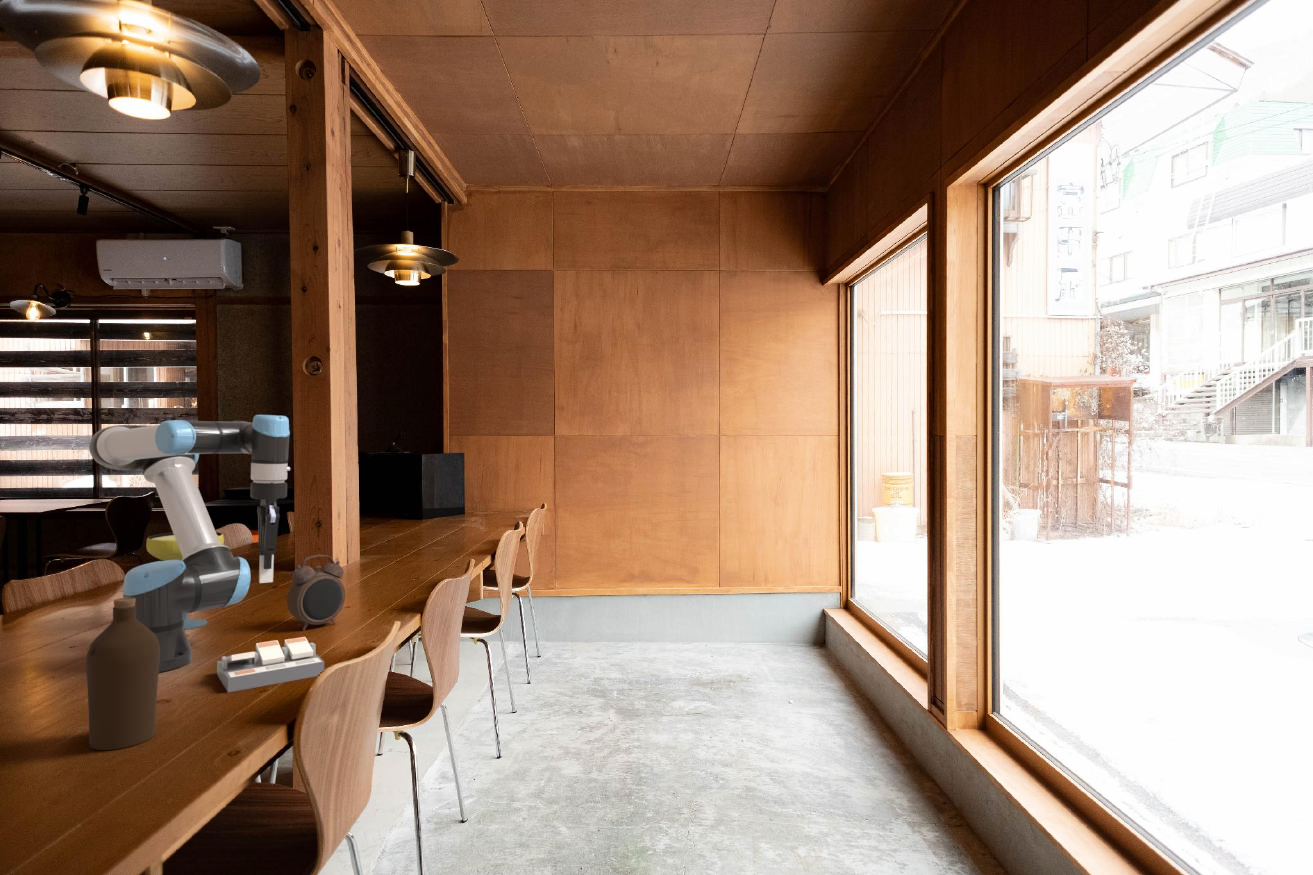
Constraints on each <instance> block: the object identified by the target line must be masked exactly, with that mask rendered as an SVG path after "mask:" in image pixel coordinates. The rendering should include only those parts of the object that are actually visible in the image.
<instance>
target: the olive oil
mask: <svg viewBox="0 0 1313 875" xmlns="http://www.w3.org/2000/svg"><path fill="white" fill-rule="evenodd" d="M135 602H136V598H134V597H124V598H123V597H118V598H115V599H113V605H114V606H113V608H112V621H111V622H110V624H109V625H108V626H107V627H105V629H104V630H102V631H101V632H100V634H98V635H97V637H95V639H94V640H93V641H92V642H91V644H90V645H89V648H88V650H87V653H86V656H85V666H86V682H87V683H86V684H87V705H88V734H89V737H88V739H89V740H88V743H89V747H90V748H91V749H94V750H98V751H112V750H114V751H115V750H120V749H126V748H130V747H132V746H137V745H140V744H142V743H145V742H146V741H148V740H150V739H152V737H154V735H155V734H156V732H155V731H156V716H157V700H158V699H157V697H158V696H157V695H158V685H159V684H158V683H159V673H160V672H159V660H160V645H159V641H158V639H157V637H156V635H155V634H154V633H153V632H152V631H151V630H149V629H148V628H147V627H146V626H144V625H143V624H142V623H140V622H139V621H138V620H137V619H136V605H135Z"/></svg>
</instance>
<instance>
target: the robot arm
mask: <svg viewBox="0 0 1313 875" xmlns="http://www.w3.org/2000/svg"><path fill="white" fill-rule="evenodd" d="M289 423H290V421H289V417H287V416H286V415H275V414H273V415H272V414H256V415H254V416H253V418H252V422H250V421H249V422H248V421H243V420H233V421H223V420H221V421H219V420H218V421H217V420H216V421H215V420H213V421H211V420H209V421H208V420H207V421H206V420H204V421H203V420H184V419H174V420H165V421H162V422H161V423H159V424H154V425H141V424H139V425H137V424H136V425H133V424H119V425H117V424H116V425H111V426H107V427H104V428H101V429H100V430H98V431H97V432H95V433H94V434H93V435H92V436H91V438H90V441H89V445H88V449H89V450H88V451H89V453H90V456H91V457H92V459H94V461H95V462H96V463H97V464H99V465H101V466H103V467H105V468H107V469H112V470H117V471H141V472H142V474H143V477H144V479H145V480H146V481H147V482H149V483H152V484H154V486H155V489H156V492H157V494H158V497H159V499H160V503H161V504H162V507H163V510H164V513H165V515H166V517H167V520H168V522H169V525H170V528H171V531H172V533H174V536H175V538H176V541H177V544H178V546H179V549H180V552H181V554H182V557H183V559H182V560H166V561H164V560H159V561H154V562H149V563H145V564H141V565H138V566H135V567H133V568H131V569H130V570H128V571H127V573H126V574H125V575H124V579H123V580H124V581H123V589H122V598H124V597H134V598H136V602H135V605H136V619H137V620H138V621H139V622H140V623H142V624H143V625H144V626H146V627H147V628H148V629H149V630H151V631H152V632H153V633H154V634H155V635H156V637H157V639H158V641H159V645H160V660H159V672H158V673H162V672H166V671H171V670H175V669H178V668H181V667H184V666H185V665H186V666H187V664H189V663H191V662H192V661H193V649H192V647H191V646H192V645H191V644H190V641H189V639H188V637H187V633H186V631H185V630H184V614H187V615H188V614H191V613H197V612H202V611H207V610H213V609H218V608H225V607H227V606H231V605H235V604H239V603H240V602H241V601H242V600H243V599H244V598H245V597H246V595H247V594H248V592H249V588H250V585H251V579H252V578H251V568H250V565H249V563H248V561H247V560H246V558H244V557H241V556H235V557H234V555H233V552H232V550H231V548H230V547H229V546H227V545H225V544H223V545H221V544H220V541H219V539H218V536H217V534H216V532H217V531H216V530H215V527H214V525H213V524H214V523H213V522H212V519H211V517H210V515H209V512H208V510H207V507H206V504H205V502H204V500H203V497H202V493H201V492H200V489H199V487H198V484H197V482H196V480H195V478H194V475H193V471H194V470H195V468H196V464H197V463H198V462H199V461H198V460H199V457H200V455H205V454H206V455H207V454H208V455H209V454H210V455H213V454H214V455H215V454H219V455H220V454H222V455H223V454H227V455H228V454H249V455H251V463H250V479H251V480H252V482H251V483H250V497H251V498H252V499H254V500H260V503H259V504H260V505H257V510H256V513H257V528H258V529H257V530H258V531H257V536H258V538H257V543H258V544H257V545H258V546H257V548H258V552H257V556H259V563H258V564H259V567H258V568H259V570H258V582H259V584H265V583H266V584H268V583H273V582H274V562H275V561H274V560H275V556H274V555H275V554H277V544H278V542H277V541H278V531H279V530H278V529H279V521H280V517H281V515H280V506H278V504H277V500H282V499H285V498H287V497H288V483H287V482H286V480H288V472H289V471H291V467H290V466H289V465H288V463H289V448H290V435H291V434H290V432H291V431H290V424H289Z"/></svg>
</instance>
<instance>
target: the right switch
mask: <svg viewBox="0 0 1313 875" xmlns="http://www.w3.org/2000/svg"><path fill="white" fill-rule="evenodd" d="M284 647H286V648H287V649H288V652H289V654H290V656H291V658H292V659H298V658H304V657H310V656H313V649H312V648H311V646H310V642H309V640H308V639H307V638H306V636H302V637H296V638H288V639H284Z"/></svg>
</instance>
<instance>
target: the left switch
mask: <svg viewBox="0 0 1313 875" xmlns="http://www.w3.org/2000/svg"><path fill="white" fill-rule="evenodd" d="M253 657H255V651H249V652H242V653H236V654H230V655H227V656H226V658H227V662H233V661H240V660H246V659H250V658H253Z"/></svg>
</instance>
